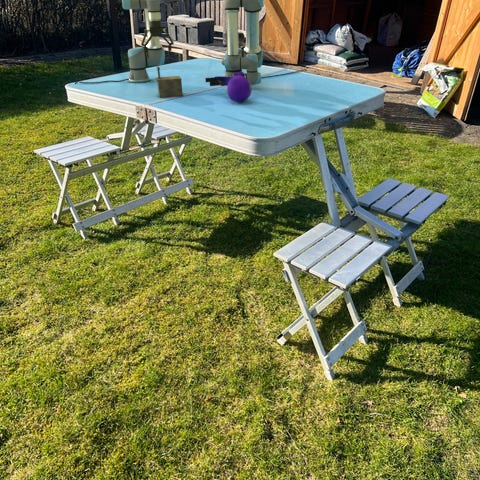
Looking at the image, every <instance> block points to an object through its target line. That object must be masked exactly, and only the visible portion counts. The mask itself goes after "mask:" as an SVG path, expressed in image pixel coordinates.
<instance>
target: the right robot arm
mask: <svg viewBox="0 0 480 480" xmlns="http://www.w3.org/2000/svg"><path fill="white" fill-rule="evenodd" d="M264 7H265V2H264V0H225V2H224V13H225V15H226V51H225V54H224V55H225V56H224V58H225V66H224V69H225V74H224V77H234V74H235V73H238V72H243V70H246V73H245V72H243V73H244V74H245V78H247V79H248V80H249V82H250V84H251V86H253V85H259V84H261V83H262V79H267V78H273V77H280V76H286V75H292V74H295V73H301V72H303V71H306V72H308V70H307V68H304V69H301V70H295V71H291V72H286V73H280V74H274V75H267V76H262V74H261V72H259V71H258V69H260V68H261V67H262V65H263V59H264V50H263V49H262V47H261V46H260V12H261V11H262V8H264ZM240 8H243V11H244V12H245V24H246V25H245V26H246V27H245V28H246V30H245V31H246V32H245V33H246V35H245V36H246V46H245V47H244V50H243V49H242V48H241V47H240V46H239V45H240V44H239V13H240ZM215 77H216V76H214V77H205V79H204V80H205V81H204V82H205V83H209V87H219V86H220V87H224V86H228V85H227V84H226V83H224V82H222V81H220V80H218V79H216V78H215Z"/></svg>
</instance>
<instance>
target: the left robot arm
mask: <svg viewBox="0 0 480 480" xmlns="http://www.w3.org/2000/svg"><path fill="white" fill-rule="evenodd" d="M160 2H161V0H121V4H122V5H121V6H122V9H123V10H127V11H128V10H144V19H145V29H144V34H143V37H142V40H141V43H140V45H141V46H137V47H132V48H130V49H128V50H127V58H128V64H129V65H128V66H129V76H128V78H124V79H121V80H120V79H119V80H103V81H102V80H101V81H75V82H74V83H75V84H74V85H77V84H100V83H101V84H103V83H115V82H116V83H121V82H125V81H128V82H129V83H133V84H141V83H148V82H150V76H149V74H148V71H147V67H151V66H162V65H164V64H165V61H166V60H165V59H166V51H165V50H166V49H165V48H164V47H163V45H162V44H161V41H160V37H161V38H162V39H163V40H164V41H165V42H166V43H167V44H168V45H167V51H168V57H169V58H171V52H172V46H173V45H174V44H175V43H174V40H173V38H172V37H171V35H170V33H169V32H168V28H167V27H165V28H163V24H162V14H161V4H160ZM163 33H165V34H166V37H168V39H169V40H168V39H167V38H166V37H165V36H164V34H163ZM146 38H147V39H146ZM78 82H79V83H78ZM79 131H80V134H81V135H83V130H82V128H81V129H79Z"/></svg>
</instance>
